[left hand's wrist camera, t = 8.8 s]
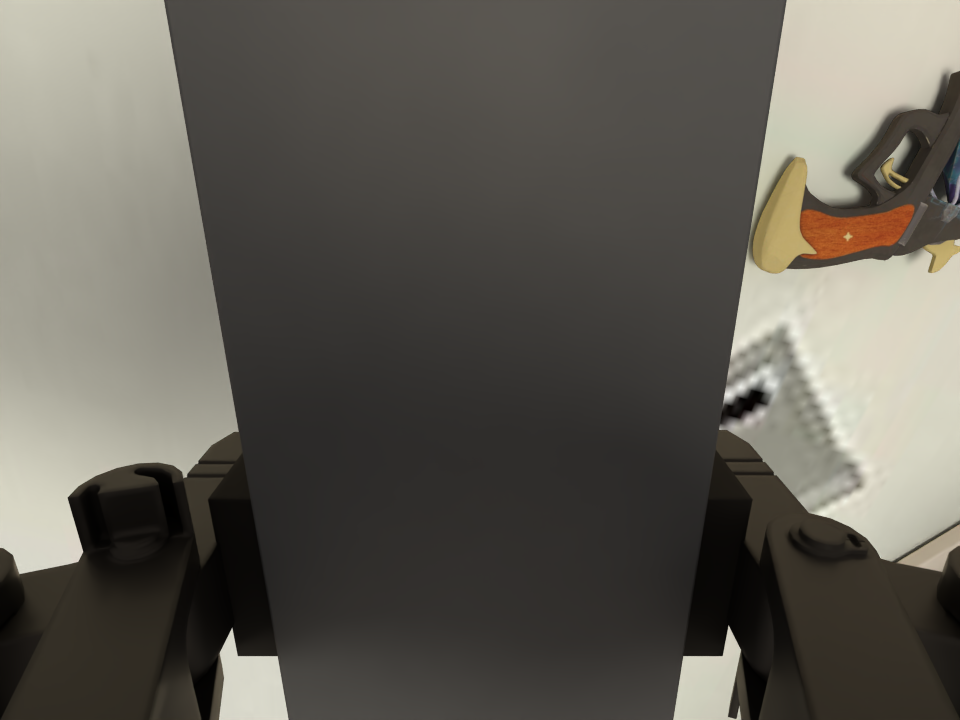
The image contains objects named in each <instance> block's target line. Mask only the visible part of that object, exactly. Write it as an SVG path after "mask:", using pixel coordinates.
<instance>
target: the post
mask: <svg viewBox="0 0 960 720" xmlns="http://www.w3.org/2000/svg"><path fill="white" fill-rule="evenodd" d="M164 2H165V8H166V14H167V19H168V25H169V31H170V37H171V43H172V48H173V54H174V60H175V66H176V71H177V77H178V83H179V89H180V94H181V100H182V106H183V112H184V118H185V123H186V129H187V135H188V141H189V146H190V152H191V158H192V164H193V169H194V175H195V181H196V187H197V193H198V198H199V204H200V210H201V216H202V221H203V227H204V233H205V239H206V245H207V250H208V256H209V262H210V268H211V273H212V279H213V285H214V291H215V296H216V302H217V308H218V314H219V320H220V325H221V331H222V337H223V343H224V348H225V354H226V360H227V366H228V371H229V377H230V383H231V389H232V395H233V400H234V406H235V412H236V418H237V423H238V429H239V435H240V441H241V446H242V452H243V458H244V464H245V470H246V475H247V481H248V487H249V493H250V498H251V504H252V510H253V516H254V522H255V527H256V533H257V539H258V545H259V550H260V556H261V562H262V568H263V573H264V579H265V585H266V591H267V597H268V602H269V608H270V614H271V620H272V625H273V631H274V637H275V643H276V648H277V654H278V660H279V666H280V672H281V677H282V683H283V689H284V695H285V700H286V706H287V712H288V718H289V720H673V717H674V711H675V705H676V698H677V692H678V685H679V679H680V673H681V666H682V660H683V654H684V647H685V641H686V635H687V628H688V622H689V616H690V609H691V603H692V597H693V590H694V584H695V578H696V571H697V565H698V559H699V552H700V546H701V540H702V533H703V527H704V521H705V514H706V508H707V501H708V495H709V489H710V482H711V476H712V470H713V463H714V457H715V451H716V444H717V438H718V432H719V425H720V419H721V413H722V406H723V400H724V394H725V387H726V381H727V375H728V368H729V362H730V356H731V349H732V343H733V337H734V330H735V324H736V317H737V311H738V305H739V298H740V292H741V286H742V279H743V273H744V267H745V260H746V254H747V248H748V241H749V235H750V229H751V222H752V216H753V210H754V203H755V197H756V191H757V184H758V178H759V172H760V165H761V159H762V153H763V146H764V140H765V134H766V127H767V121H768V114H769V108H770V102H771V95H772V89H773V83H774V76H775V70H776V64H777V57H778V51H779V45H780V38H781V32H782V26H783V19H784V13H785V7H786V0H164Z"/></svg>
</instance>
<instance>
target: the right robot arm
mask: <svg viewBox="0 0 960 720" xmlns="http://www.w3.org/2000/svg"><path fill="white" fill-rule="evenodd" d="M957 546H960V524H959V525H958V526H956V527H954V528H953V529H951V530H950V531H948V532H946V533H945V534H943V535H941V536H940V537H938V538H936V539H935V540H933V541H931V542H930V543H928V544H926V545H925V546H923V547H921V548H920V549H918V550H916V551H915V552H913V553H912V554H910V555H908V556H907V557H905V558H903V559H902V560H900V561H898V562H897V563H900V564H905V565H910V566H915V567H921V568H926V569H931V570H936V571H941V572H942V571H943V568H944V565H945V562H946V559H947V556H948V554H949V552H950V551H952V550H953V549H954V548H956V547H957Z"/></svg>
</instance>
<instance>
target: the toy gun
mask: <svg viewBox="0 0 960 720" xmlns="http://www.w3.org/2000/svg"><path fill="white" fill-rule="evenodd" d="M908 131H911V132H913V133H914V134H915V135H916V136H917V138H918V140H919V142H920V144H921V148H920V150H919V151H918V153H917V155H916V157H915V158H914V160H913V162H912V164H911V165H910V167H909V169H908V171H907V173H906V174H905V176H904V177H903V176H901V175H899V174H897V173H895V172H894V171H893V170H892V164H893V161H894V158H890V159H888V160H887V161H886V162H884V161H885V160H886V159H887V158H888V157H889V156H890V155H891V154H892V153H893V151H894V150H895V149H896V148H897V147H898V145H899V144H900V142H901V141H902V139H903V138H904V136H905V134H906V133H907V132H908ZM883 162H884V163H883ZM882 163H883V164H882ZM881 164H882V165H881ZM880 165H881V167H880ZM879 167H880V170H881V172H882V174H883V176H884V178H885V180H886V181H887V183H888V184H889V185H891V186H892V187H893V188H895V190H894V191H890V190H887V189H885V188H883V187H882V186H881V185H880V184H879V183H878V181H877V180H876V178H875V176H874V173H875V171H876V170H877V169H878V168H879ZM942 171H943V174H944V180H945V187H946V194H947V201H948V203H946V202H943V201H941V200H939V199H938V198H937V197H936V195H935V193H934V190H933V187H934V185H935V184H936V182H937V180H938V178H939V176H940V174H941V173H942ZM889 175H890V176H892V177H894V178H895V179H897V180H899V181H901V183H900V184H899V185H897V184H895V183H894V182H893V181H892V180H891V179H890V178H889ZM806 178H807V165H806V162H805V159H804V158H800V157H796V158H795V159H794V160H793V161H792V162H791V163H790V165H789V166H788V167H787V168H786V170H785V171H784V173H783V175H782V177H781V178H780V180H779V182H778V183H777V185H776V187H775V189H774V191H773V193H772V195H771V197H770V199H769V201H768V203H767V204H766V206H765V208H764V210H763V213H762V215H761V217H760V220H759V223H758V226H757V229H756V232H755V236H754V240H753V257H754V261H755V263H756V265H757V266H758V267H759V268H760V269H761V270H764V271H767V272H769V273H780V272H782V271H784V270H785V269H810V268H820V267H827V266H833V265H839V264H843V263H848V262H852V261H857V260H862V259H870V258H873V259H877V260H887V259H889V258H890V257H892V255H894V256H901V255H905V254H908V253H911V252H913V251H915V250H917V249H919V248H922V247H923V248H924V249H925V250H926V251H928V252H929V253H931V254H932V255H933V257H932V260H931V263H930V267H929V270H928V272H929V273H934V272H937V271H939V270H940V269H941V268H942V267H943V266H944V265H945V264H946V263H947V262H948V260H949V259H950V258H951V257H952V255H954V254H957V253H958V252H960V246H956V245H954V241H955V240H957V239H960V71H959V72H956V73H953V74H951V76H950V80H949V85H948V89H947V93H946V96H945V100H944V102H943V105H942V107H941V110H940V112H939V115H938V114H936V113H934V112H932V111H929V110H926V109H918V110H912V111H908V112H905V113H901V114H899V115H897V116H896V117H895V118H894V120H893V121H892V123H891V124H890V126H889V128H888V130H887V132H886V133H885V135H884V137H883V138H882V140H881V141H880V143H879V144H878V145H877V147H876V148H875V149H874V150H873V151H872V153H871V154H870V155H869V156H868V157H867V158H866V159H865V160H864V161H863V162H862V163H861V164H860V165H859V166H858V167H857V168H856V169H855V170H854V171H853V173H852V178H853V180H855V181H856V182H858V183H860V184H861V185H862V186H864V187H865V188H866V189H867V190H868V191H869V192H870V194H871V196H872V199H871V203H870V205H869V206H865V207H859V208H843V209H837V208H832V207H830V206H828V205H826V204H824V203H822V202H821V201H819V200H818V199H817V198H815V197H814V196H813V195H812V194H810V192H809V191H808V189H807V186H806ZM929 194H931V196H932V197H931V196H929ZM958 204H959V205H958ZM956 205H957V206H956Z"/></svg>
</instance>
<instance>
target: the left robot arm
mask: <svg viewBox="0 0 960 720" xmlns="http://www.w3.org/2000/svg"><path fill="white" fill-rule="evenodd" d="M198 462H199V463H198V464H196V465H195V466H194V467H193V468H192V469H191V470H190V472H189V473H188V474H187V478H184V479H183V474H182V472H181V471H180V470H179V469H177V468H176V467H174V466H173V465H168V464H162V463H140V464H134V465H129V466H125V467H120V468H116V469H113V470H111V471H108V472H105V473H103V474H100V475H97V476H95V477H94V478H92V479H90V480H89V481H87V482H85V483H83V484H82V485H80V486H79V487H78V488H77V489H76V490H75V491H74V492H73V493H72V494H71V495H70V496H69V497H68V501H69V504H70V508H71V511H72V514H73V518H74V521H75V525H76V528H77V532H78V535H79V538H80V542H81V545H82V549H83V554H82V556H81V558H80V560H79V562H76V563H72V564H68V565H63V566H58V567H53V568H48V569H43V570H38V571H33V572H28V573H23V574H19V572H18V569H17V566H16V563H15V560H14V557H13V555H12V554H10V553H9V552H8V551H6V550H5V549H3V548H0V720H219V714H220V706H221V698H222V690H223V681H224V675H223V669H222V663H221V658H220V651H221V649H222V647H223V645H224V643H225V641H226V639H227V637H228V635H229V633H230V631H231V629H232V628H233V633H234V638H235V643H236V648H237V654H238V656H278V654H277V648H276V643H275V637H274V631H273V625H272V620H271V614H270V608H269V602H268V597H267V591H266V585H265V579H264V573H263V568H262V562H261V556H260V550H259V545H258V539H257V533H256V527H255V522H254V516H253V510H252V504H251V498H250V493H249V487H248V481H247V475H246V470H245V464H244V458H243V452H242V446H241V441H240V435H239V432H233V433H232V434H230V435H228V436H227V437H225V438H223V439H222V440H220V441H218V442H217V443H215V444H213V445H212V446H211V447H210V448H209V449H208V451H207V452H206V453H205V454H204V455H203V456H202V458H201V459H200V460H199V461H198ZM728 625H729V627H730V629H731V631H732V633H733V635H734V637H735V639H736V641H737V643H738V645H739V647H740V649H741V653H740V658H739V663H738V668H737V672H736V677H735V682H734V687H733V692H732V697H731V701H730V707H729V714H728V717H731V718H735V719H736V718H737V714H738V709H739V706H740V712H741V720H960V546H957V547H956V548H954V549H953V550H952V551H950V552H949V554H948V556H947V559H946V562H945V565H944V568H943V571H942V572H941V571H936V570H931V569H926V568H921V567H915V566H910V565H905V564H900V563H895V562H891V561H887V560H883V559H880V557H879V555H878V553H877V551H876V550H875V548H874V547H873V546H872V545H871V543H870V542H869V541H868V540H867V538H865V537H864V536H862V535H861V534H859V533H858V532H856V531H855V530H854V529H852V528H851V527H849V526H846V525H844V524H842V523H840V522H837V521H835V520H833V519H831V518H827V517H823V516H819V515H815V514H810V513H808V511H807V510H806V509H805V508H804V507H803V506H802V505H801V503H800V502H799V501H798V500H797V499H796V498H795V496H794V495H793V494H792V493H791V492H790V491H789V489H788V488H787V487H786V486H785V485H784V484H783V482H782V481H781V480H780V479H779V478H778V477H777V475H774V472H773V471H772V470H771V468H770V467H769V466H768V465H767V464H766V463H765V462H763V461H762V458H761V457H760V456H759V454H758V453H757V452H756V451H755V450H754V449H753V447H752V446H751V445H750V444H749V443H747V442H746V441H744V440H742V439H741V438H739V437H737V436H736V435H734V434H732V433H731V432H729V431H727V430H719V432H718V438H717V444H716V451H715V457H714V463H713V470H712V476H711V482H710V489H709V495H708V501H707V508H706V514H705V521H704V527H703V533H702V540H701V546H700V552H699V559H698V565H697V571H696V578H695V584H694V590H693V597H692V603H691V609H690V616H689V622H688V628H687V635H686V641H685V647H684V654H683V656H723V651H724V646H725V641H726V635H727V630H728Z"/></svg>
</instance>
